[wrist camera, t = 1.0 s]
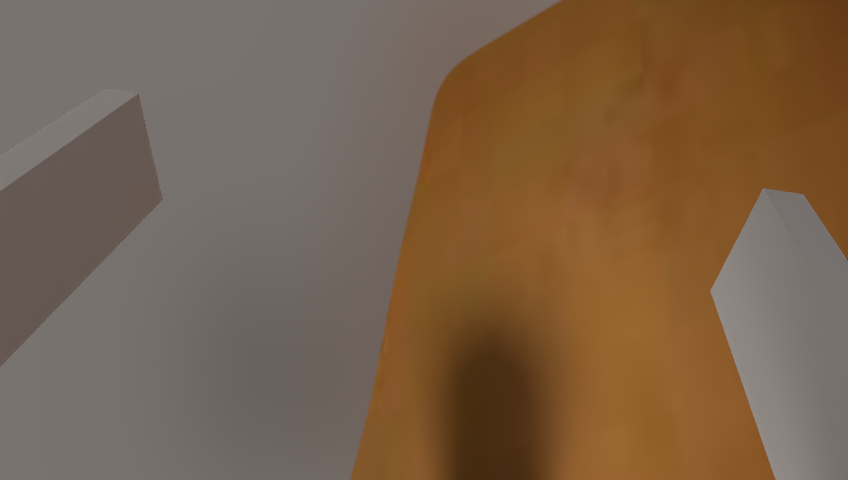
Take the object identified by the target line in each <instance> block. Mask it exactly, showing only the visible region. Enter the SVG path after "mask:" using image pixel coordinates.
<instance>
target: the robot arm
mask: <svg viewBox="0 0 848 480" xmlns="http://www.w3.org/2000/svg"><path fill="white" fill-rule="evenodd" d="M162 200H163V199H162V195H161V190H160V186H159V181H158V177H157V173H156V168H155V164H154V160H153V155H152V150H151V146H150V142H149V137H148V133H147V128H146V124H145V120H144V115H143V111H142V106H141V102H140V97H139V94H138V93H132V92H126V91H120V90H113V89H106V88H105V89H104V90H102V91H100V92H99V93H97V94H96V95H94V96H93V97H91V98H89V99H88V100H86V101H85V102H83V103H82V104H80V105H79V106H77V107H76V108H74V109H72V110H71V111H69V112H68V113H66V114H64V115H63V116H61V117H60V118H58V119H57V120H55V121H54V122H52V123H50V124H49V125H47V126H46V127H44V128H43V129H41V130H40V131H38V132H37V133H35V134H33V135H32V136H30V137H29V138H27V139H26V140H24V141H22V142H21V143H19V144H18V145H16V146H15V147H13V148H12V149H10V150H8V151H7V152H5V153H4V154H2V155H1V156H0V366H2V364H3V363H4V362H5V361H6V360H7V359H8V358H9V357H10V356H11V355H12V354H13V353H14V352H15V351H16V350H17V349H18V348H19V347H20V346H21V345H22V344H23V343H24V342H25V341H26V340H27V339H28V338H29V337H30V335H32V334H33V333H34V332H35V330H36V329H37V328H38V327H39V326H40V325H41V324H42V323H43V322H44V321H45V320H46V319H47V318H48V317H49V316H50V315H51V314H52V313H53V312H54V311H55V310H56V309H57V308H58V307H59V306H60V305H61V304H62V303H63V302H64V301H65V300H66V299H67V298H68V296H69V295H70V294H71V293H72V292H73V291H74V290H75V289H76V288H77V287H78V286H79V285H80V284H81V283H82V282H83V281H84V280H85V279H86V278H87V277H88V276H89V275H90V274H91V273H92V272H93V271H94V270H95V269H96V268H97V267H98V266H99V265H100V264H101V263H102V261H103V260H104V259H105V258H106V257H107V256H108V255H109V254H110V253H111V252H112V251H113V250H114V249H115V248H116V247H117V246H118V245H119V244H120V243H121V242H122V241H123V240H124V239H125V238H126V237H127V236H128V235H129V234H130V233H131V232H132V231H133V229H135V228H136V226H137V225H138V224H139V223H140V222H141V221H142V220H143V219H144V218H145V217H146V216H147V215H148V214H149V213H150V212H151V211H152V210H153V209H154V208H155V207H156V206H157V205H158V204H159V203H160V202H161V201H162ZM711 294H712V297H713V300H714V303H715V306H716V308H717V311H718V314H719V317H720V320H721V323H722V326H723V329H724V332H725V335H726V337H727V340H728V343H729V346H730V349H731V352H732V355H733V358H734V361H735V364H736V366H737V369H738V372H739V375H740V378H741V381H742V384H743V387H744V390H745V393H746V395H747V398H748V401H749V404H750V407H751V410H752V413H753V416H754V419H755V422H756V424H757V427H758V430H759V433H760V436H761V439H762V442H763V445H764V448H765V451H766V453H767V456H768V459H769V462H770V465H771V468H772V471H773V474H774V477H775V479H776V480H848V260H847V259H846V257H845V256H844V254H843V253H842V251H841V250H840V248H839V247H838V245H837V244H836V242H835V241H834V240H833V238H832V237H831V235H830V234H829V232H828V231H827V229H826V228H825V226H824V225H823V223H822V222H821V220H820V219H819V217H818V216H817V214H816V213H815V211H814V210H813V208H812V207H811V205H810V204H809V202H808V201H807V199H806V198H805V196H804V195H803V194H797V193H791V192H784V191H777V190H771V189H764V188H763V190H762V192H761V194H760V196H759V198H758V200H757V202H756V203H755V205H754V207H753V209H752V211H751V213H750V215H749V217H748V219H747V221H746V223H745V225H744V227H743V229H742V231H741V233H740V235H739V237H738V239H737V240H736V242H735V244H734V246H733V248H732V250H731V252H730V254H729V256H728V258H727V260H726V262H725V264H724V266H723V268H722V270H721V272H720V274H719V276H718V277H717V279H716V281H715V283H714V285H713V287H712V289H711Z"/></svg>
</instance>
